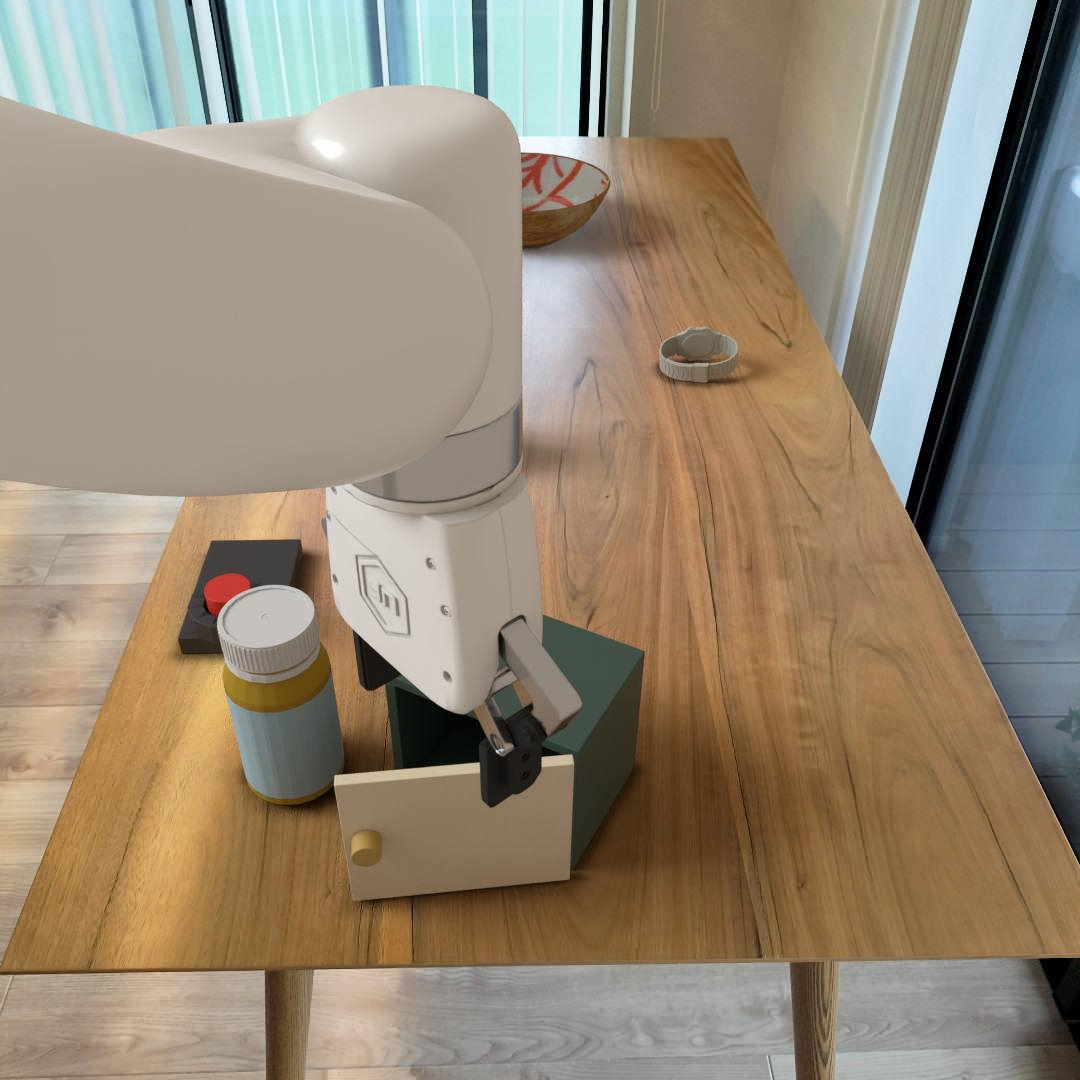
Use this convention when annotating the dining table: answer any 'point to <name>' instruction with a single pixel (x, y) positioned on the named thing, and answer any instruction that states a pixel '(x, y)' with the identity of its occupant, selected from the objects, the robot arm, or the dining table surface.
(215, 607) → the button
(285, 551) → the switch
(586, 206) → the bowl
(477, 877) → the door
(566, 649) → the cupboard
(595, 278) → the dining table surface
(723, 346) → the wristwatch
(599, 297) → the dining table surface
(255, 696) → the bottle
